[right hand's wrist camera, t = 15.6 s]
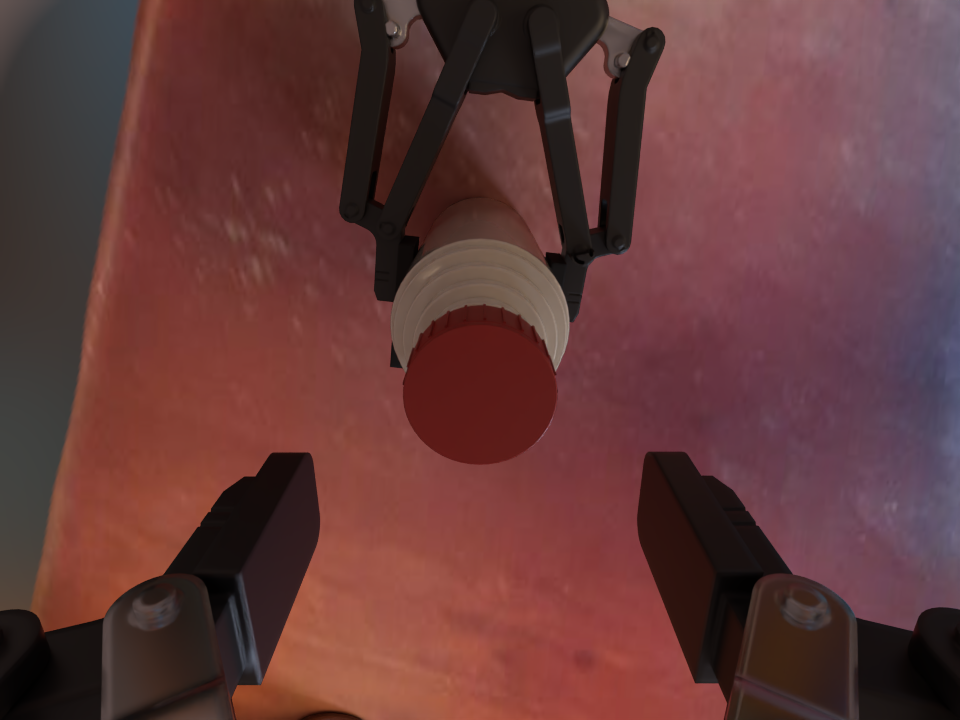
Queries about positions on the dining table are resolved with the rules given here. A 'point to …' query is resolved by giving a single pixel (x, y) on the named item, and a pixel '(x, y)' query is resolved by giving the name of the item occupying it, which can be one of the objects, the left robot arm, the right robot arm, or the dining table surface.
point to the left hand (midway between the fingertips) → (469, 365)
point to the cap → (480, 385)
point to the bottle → (479, 276)
